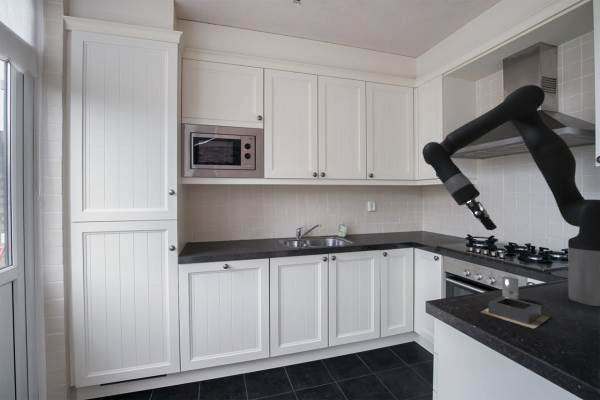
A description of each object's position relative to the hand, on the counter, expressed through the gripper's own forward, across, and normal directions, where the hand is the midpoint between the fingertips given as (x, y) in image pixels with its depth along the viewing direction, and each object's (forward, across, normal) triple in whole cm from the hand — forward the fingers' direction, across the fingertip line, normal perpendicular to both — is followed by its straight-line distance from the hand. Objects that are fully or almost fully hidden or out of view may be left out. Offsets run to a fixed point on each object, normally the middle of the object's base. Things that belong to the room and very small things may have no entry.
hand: (492, 229), depth 88 cm
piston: (+22, +3, +9) cm, 24 cm away
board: (+23, -10, +9) cm, 27 cm away
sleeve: (+22, -10, +8) cm, 26 cm away
